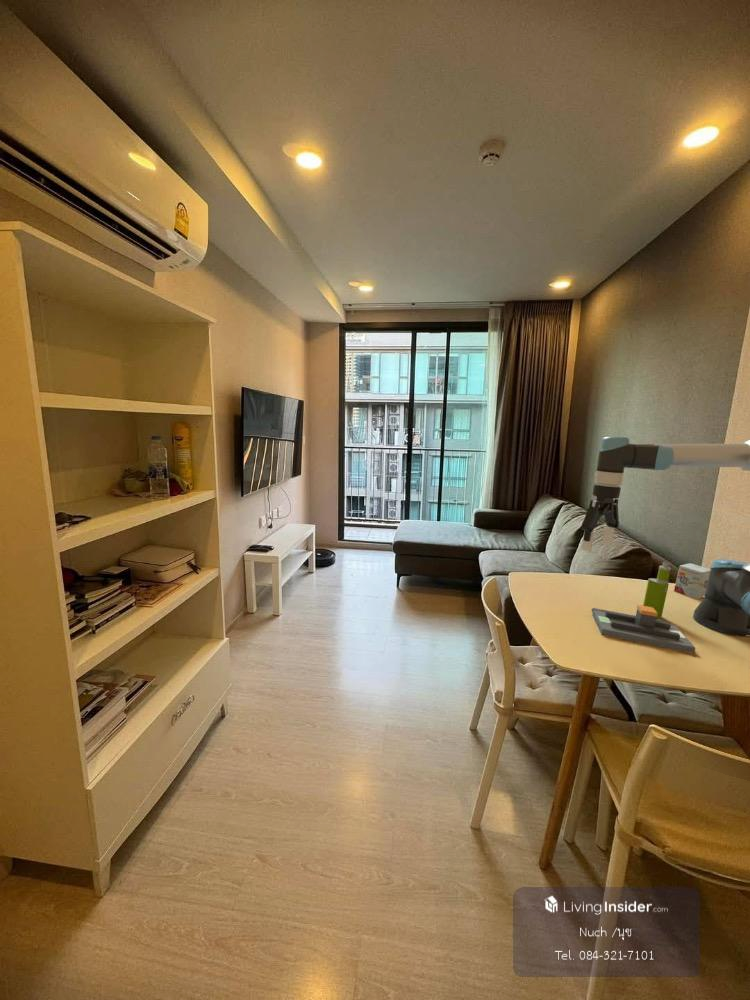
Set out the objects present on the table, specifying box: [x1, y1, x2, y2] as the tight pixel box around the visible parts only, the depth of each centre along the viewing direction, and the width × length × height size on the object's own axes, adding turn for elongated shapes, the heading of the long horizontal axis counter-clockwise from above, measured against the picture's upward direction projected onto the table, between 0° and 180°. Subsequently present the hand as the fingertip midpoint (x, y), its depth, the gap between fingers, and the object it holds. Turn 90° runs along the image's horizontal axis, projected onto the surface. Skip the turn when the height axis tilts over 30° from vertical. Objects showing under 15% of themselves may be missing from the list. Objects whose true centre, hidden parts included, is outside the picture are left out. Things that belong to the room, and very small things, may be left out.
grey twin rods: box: [591, 607, 668, 622], centre depth 129 cm, size 23×3×1 cm, turn 70°
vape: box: [642, 561, 672, 619], centre depth 132 cm, size 4×6×20 cm, turn 26°
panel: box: [591, 610, 696, 654], centre depth 120 cm, size 24×14×4 cm, turn 70°
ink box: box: [673, 563, 711, 600], centre depth 155 cm, size 9×9×12 cm
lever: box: [634, 604, 658, 628], centre depth 119 cm, size 4×4×6 cm
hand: (596, 547), depth 125 cm, fingers open, 13 cm apart
